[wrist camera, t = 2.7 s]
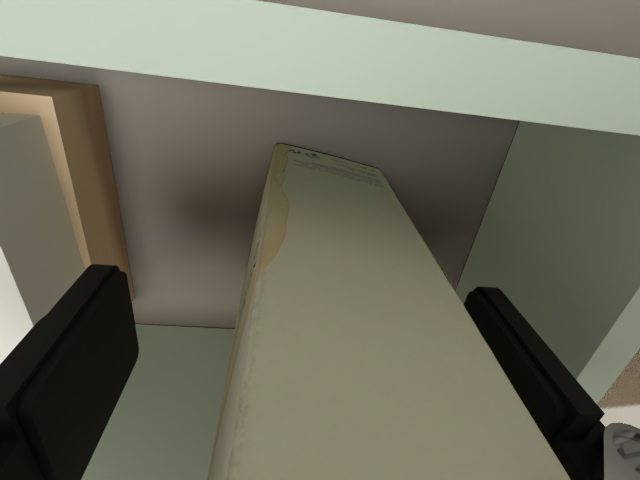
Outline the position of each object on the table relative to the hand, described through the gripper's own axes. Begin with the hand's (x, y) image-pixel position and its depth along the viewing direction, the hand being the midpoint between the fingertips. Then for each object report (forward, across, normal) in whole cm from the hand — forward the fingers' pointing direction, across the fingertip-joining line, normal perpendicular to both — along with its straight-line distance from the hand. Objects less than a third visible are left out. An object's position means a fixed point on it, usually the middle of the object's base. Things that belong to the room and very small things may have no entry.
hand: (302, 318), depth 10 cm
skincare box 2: (+6, 0, 0) cm, 6 cm away
